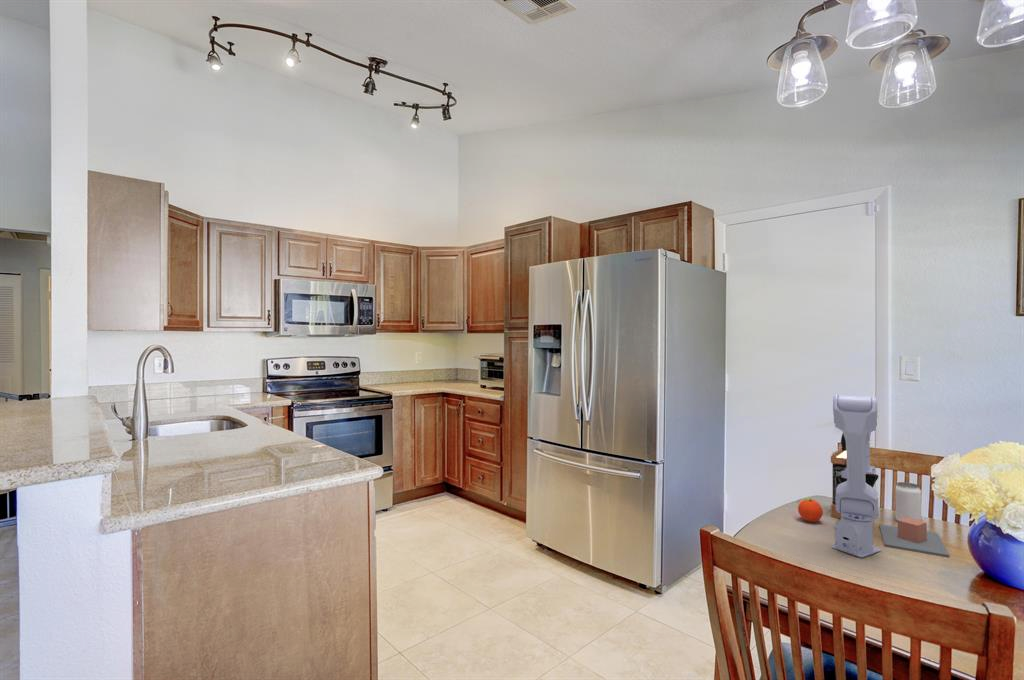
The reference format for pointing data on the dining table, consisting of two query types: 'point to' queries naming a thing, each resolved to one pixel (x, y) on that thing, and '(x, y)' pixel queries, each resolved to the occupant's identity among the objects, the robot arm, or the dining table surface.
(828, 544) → the dining table surface
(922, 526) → the brick cube
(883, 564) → the dining table surface
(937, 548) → the slate mat
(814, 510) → the clementine
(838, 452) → the whiskey bottle
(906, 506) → the can
